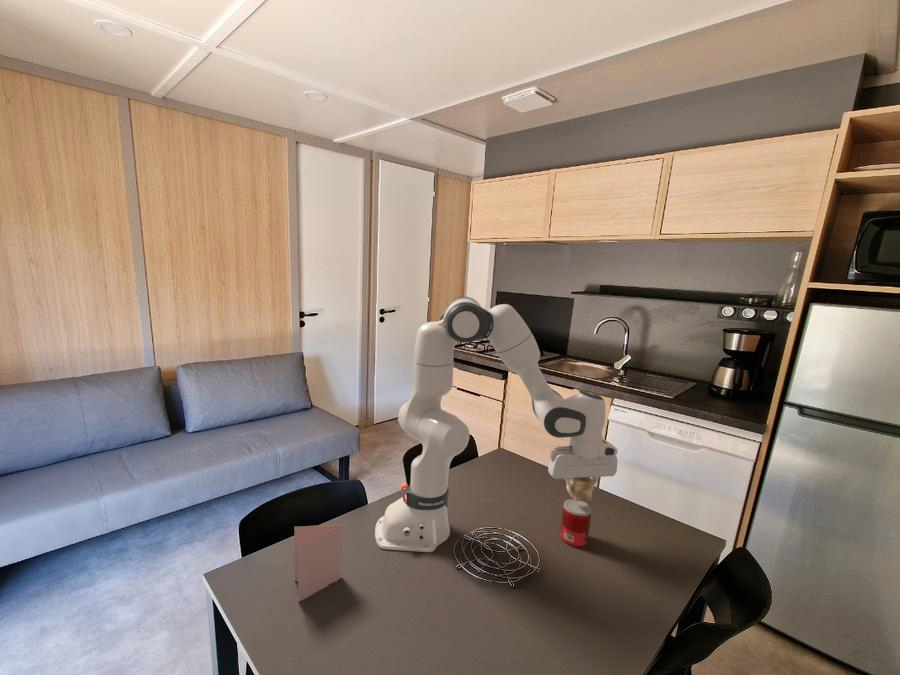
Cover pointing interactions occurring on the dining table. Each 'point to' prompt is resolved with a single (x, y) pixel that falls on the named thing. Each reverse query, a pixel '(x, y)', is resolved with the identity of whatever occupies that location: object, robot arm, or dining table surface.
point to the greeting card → (317, 557)
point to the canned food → (575, 523)
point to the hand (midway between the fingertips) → (580, 489)
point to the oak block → (582, 489)
